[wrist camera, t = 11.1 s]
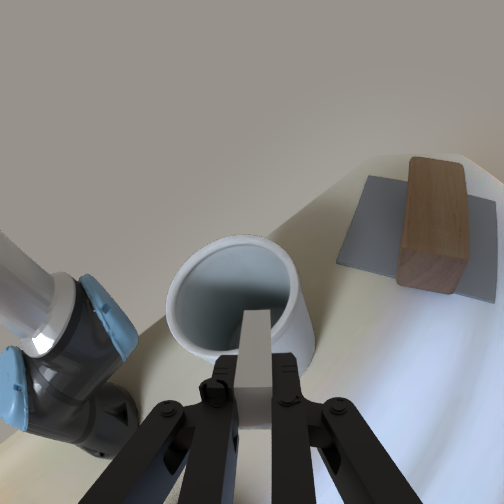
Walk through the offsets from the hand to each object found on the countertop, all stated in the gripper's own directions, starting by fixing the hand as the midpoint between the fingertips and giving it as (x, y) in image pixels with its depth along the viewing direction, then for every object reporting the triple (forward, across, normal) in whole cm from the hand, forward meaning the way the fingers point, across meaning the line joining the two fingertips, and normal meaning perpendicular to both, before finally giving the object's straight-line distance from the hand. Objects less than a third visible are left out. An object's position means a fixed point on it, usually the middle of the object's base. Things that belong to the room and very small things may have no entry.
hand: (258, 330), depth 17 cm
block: (+18, +23, -5) cm, 30 cm away
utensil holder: (+23, +1, -17) cm, 28 cm away
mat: (+31, +29, -2) cm, 42 cm away
